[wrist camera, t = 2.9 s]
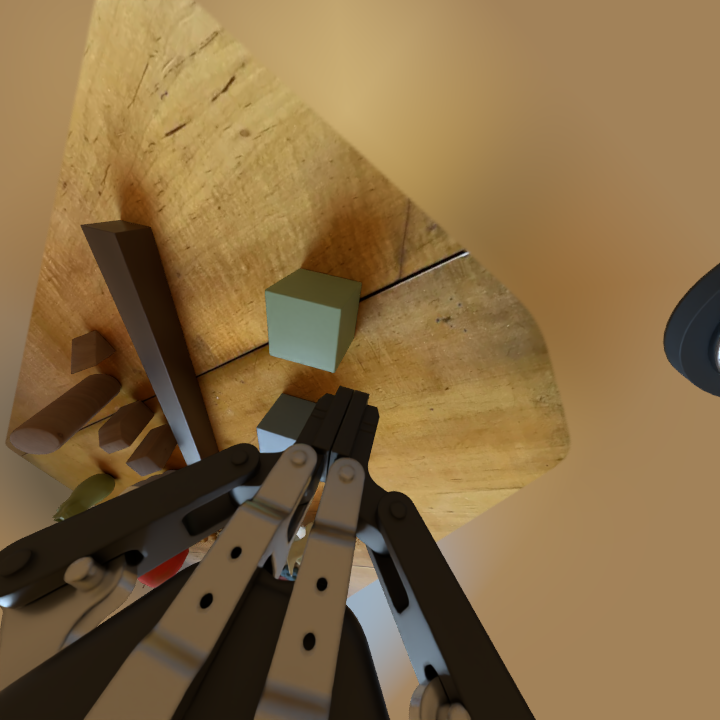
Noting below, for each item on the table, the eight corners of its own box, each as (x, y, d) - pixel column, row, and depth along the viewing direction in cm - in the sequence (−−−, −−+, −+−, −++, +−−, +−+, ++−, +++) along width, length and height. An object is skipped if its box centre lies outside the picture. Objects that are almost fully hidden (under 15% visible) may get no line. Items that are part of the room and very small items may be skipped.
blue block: (325, 405, 28) (305, 443, 24) (322, 435, 31) (304, 472, 27) (282, 392, 29) (255, 427, 25) (283, 422, 31) (260, 457, 27)
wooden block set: (198, 424, 41) (166, 482, 32) (147, 442, 41) (102, 505, 33) (106, 324, 32) (27, 367, 23) (42, 348, 32) (-61, 400, 23)
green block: (362, 282, 19) (341, 308, 15) (353, 339, 22) (334, 373, 18) (299, 267, 20) (264, 289, 16) (299, 324, 23) (269, 355, 19)
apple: (178, 528, 69) (138, 582, 59) (203, 548, 73) (168, 601, 64) (156, 526, 73) (115, 576, 64) (180, 544, 77) (145, 593, 68)
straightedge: (151, 227, 21) (114, 233, 19) (226, 476, 44) (213, 493, 41) (119, 219, 22) (79, 224, 19) (210, 470, 44) (196, 487, 42)
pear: (94, 466, 58) (38, 511, 50) (112, 471, 57) (58, 518, 49) (108, 480, 61) (58, 525, 53) (125, 485, 60) (77, 532, 52)
